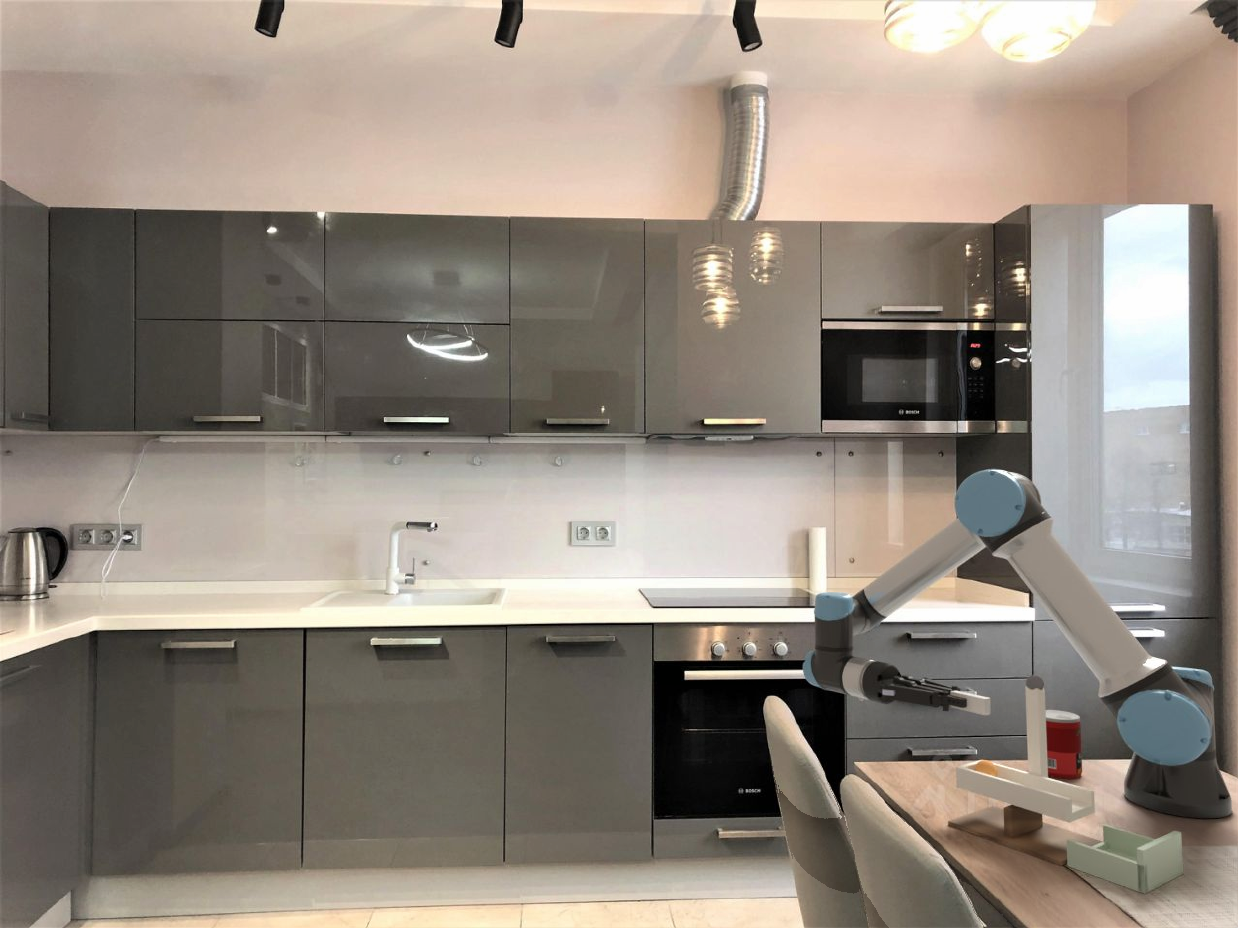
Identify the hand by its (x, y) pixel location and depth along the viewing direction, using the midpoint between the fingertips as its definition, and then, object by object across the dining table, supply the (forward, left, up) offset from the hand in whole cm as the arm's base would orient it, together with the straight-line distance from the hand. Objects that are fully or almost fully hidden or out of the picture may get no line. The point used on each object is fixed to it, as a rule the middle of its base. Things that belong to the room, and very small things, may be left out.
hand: (987, 706), depth 134 cm
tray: (-12, +20, -17) cm, 29 cm away
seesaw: (-3, +8, -12) cm, 15 cm away
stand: (-2, +9, -17) cm, 20 cm away
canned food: (-18, -24, -18) cm, 35 cm away
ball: (+2, +5, -9) cm, 10 cm away
